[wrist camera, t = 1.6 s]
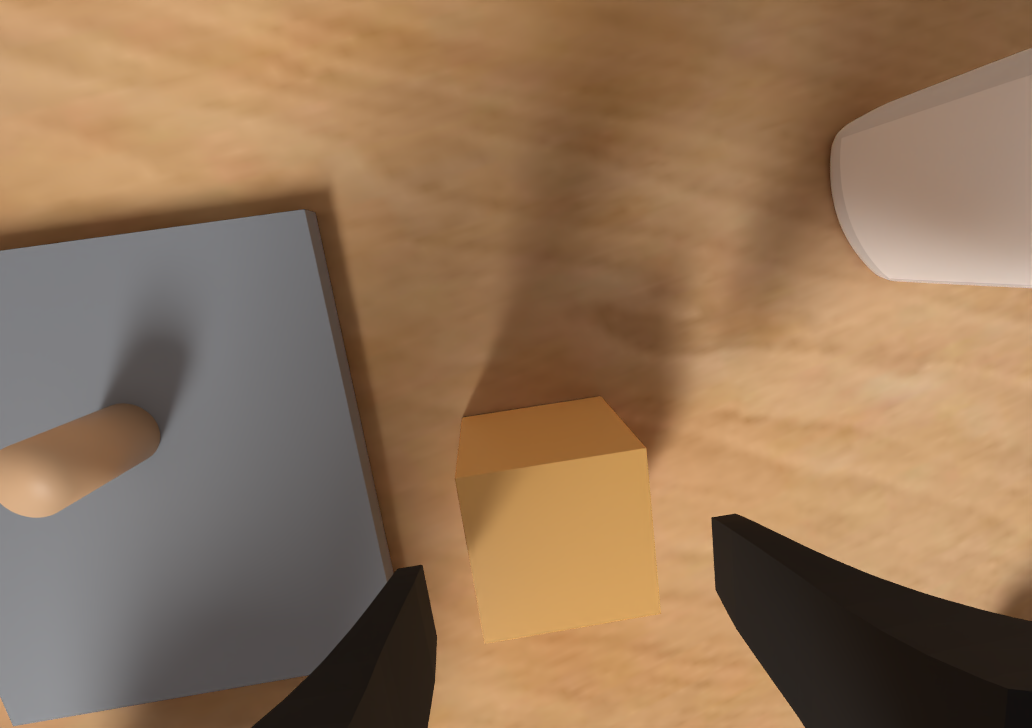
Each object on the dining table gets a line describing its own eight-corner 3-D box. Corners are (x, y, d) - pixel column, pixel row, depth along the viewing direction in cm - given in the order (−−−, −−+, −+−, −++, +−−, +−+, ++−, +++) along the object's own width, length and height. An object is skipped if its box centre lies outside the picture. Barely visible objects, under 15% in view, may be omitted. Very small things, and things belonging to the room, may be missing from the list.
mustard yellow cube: (614, 521, 19) (660, 613, 14) (483, 543, 19) (484, 644, 14) (600, 395, 18) (646, 447, 13) (462, 417, 18) (454, 478, 13)
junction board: (407, 638, 19) (385, 750, 15) (37, 701, 19) (-99, 837, 14) (315, 212, 16) (251, 194, 11) (-141, 274, 15) (-392, 281, 11)
